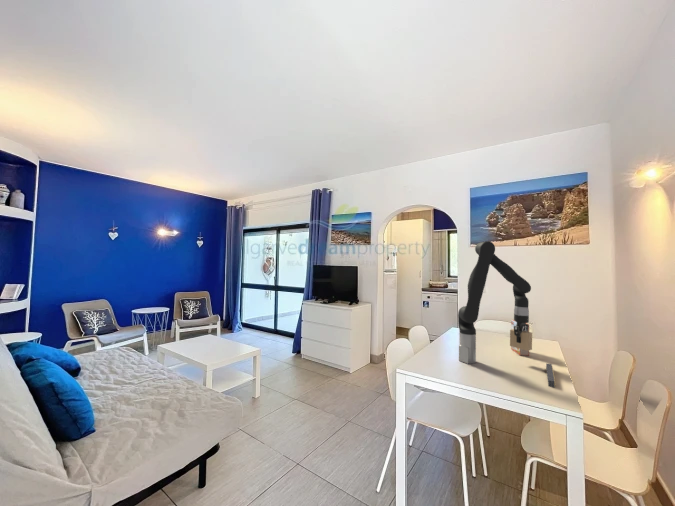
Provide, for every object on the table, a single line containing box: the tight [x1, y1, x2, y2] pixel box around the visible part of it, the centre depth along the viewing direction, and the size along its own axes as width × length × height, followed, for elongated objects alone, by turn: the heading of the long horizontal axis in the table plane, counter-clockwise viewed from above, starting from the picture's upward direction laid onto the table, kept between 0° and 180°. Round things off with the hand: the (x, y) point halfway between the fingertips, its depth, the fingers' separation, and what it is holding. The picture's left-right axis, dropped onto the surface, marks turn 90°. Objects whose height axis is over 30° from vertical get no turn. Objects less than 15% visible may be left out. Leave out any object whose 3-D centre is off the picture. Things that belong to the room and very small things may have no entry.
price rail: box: [545, 363, 556, 388], centre depth 148 cm, size 28×3×3 cm, turn 145°
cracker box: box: [510, 319, 530, 357], centre depth 188 cm, size 14×6×21 cm, turn 168°
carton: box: [509, 329, 533, 352], centre depth 167 cm, size 10×5×10 cm, turn 33°
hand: (520, 341), depth 167 cm, fingers closed on carton, 5 cm apart
